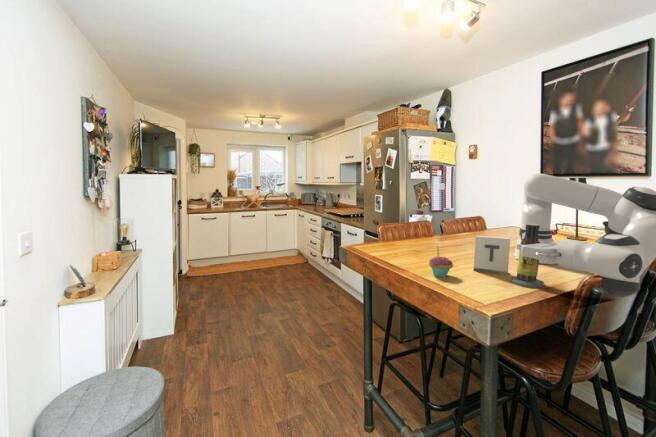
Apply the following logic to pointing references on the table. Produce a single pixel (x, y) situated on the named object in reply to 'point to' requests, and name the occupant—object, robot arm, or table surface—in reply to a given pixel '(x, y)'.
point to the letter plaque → (491, 254)
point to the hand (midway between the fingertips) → (527, 245)
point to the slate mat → (527, 282)
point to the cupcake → (440, 265)
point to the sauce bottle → (525, 264)
